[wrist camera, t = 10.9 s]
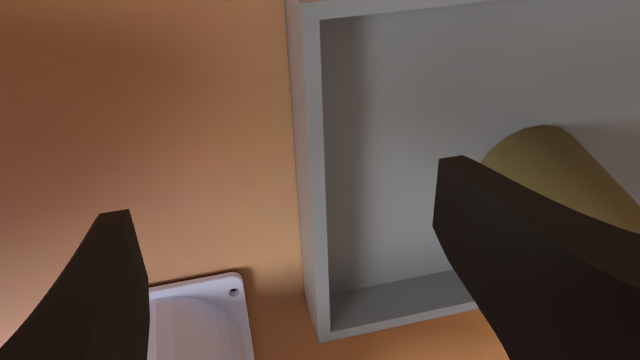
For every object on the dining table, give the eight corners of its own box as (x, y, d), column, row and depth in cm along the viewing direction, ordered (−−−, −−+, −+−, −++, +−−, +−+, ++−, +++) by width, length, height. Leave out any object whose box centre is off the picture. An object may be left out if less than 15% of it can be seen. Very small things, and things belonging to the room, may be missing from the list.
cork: (576, 209, 30) (766, 377, 21) (470, 246, 29) (618, 435, 20) (585, 108, 26) (815, 257, 17) (464, 147, 26) (640, 323, 17)
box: (670, 225, 33) (711, 257, 31) (304, 299, 29) (318, 343, 27) (782, -68, 24) (852, -55, 22) (282, -20, 20) (300, 3, 18)
